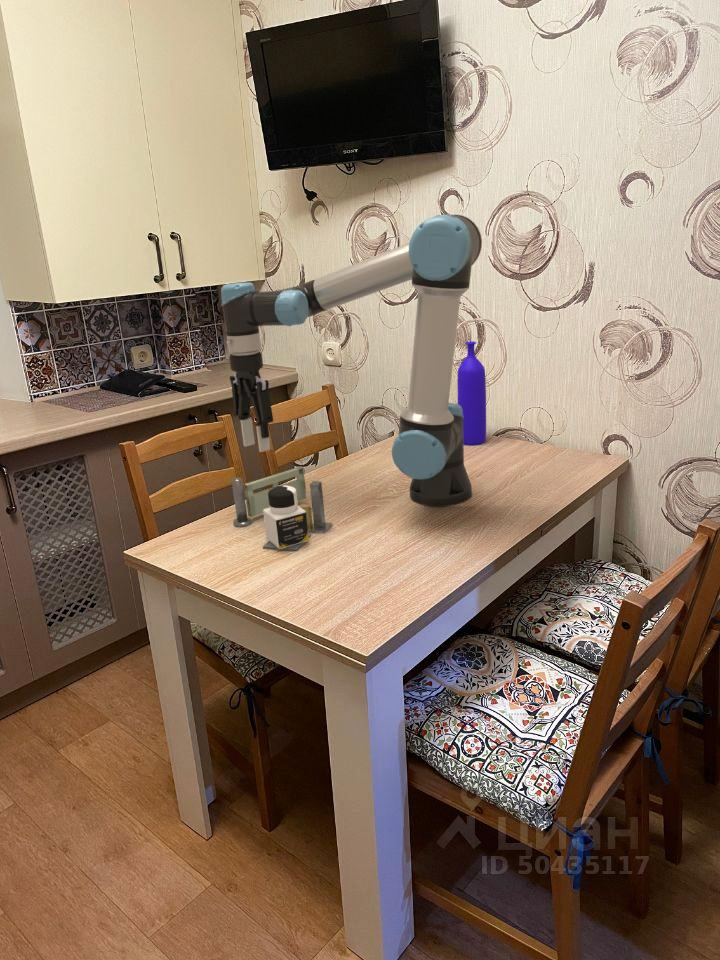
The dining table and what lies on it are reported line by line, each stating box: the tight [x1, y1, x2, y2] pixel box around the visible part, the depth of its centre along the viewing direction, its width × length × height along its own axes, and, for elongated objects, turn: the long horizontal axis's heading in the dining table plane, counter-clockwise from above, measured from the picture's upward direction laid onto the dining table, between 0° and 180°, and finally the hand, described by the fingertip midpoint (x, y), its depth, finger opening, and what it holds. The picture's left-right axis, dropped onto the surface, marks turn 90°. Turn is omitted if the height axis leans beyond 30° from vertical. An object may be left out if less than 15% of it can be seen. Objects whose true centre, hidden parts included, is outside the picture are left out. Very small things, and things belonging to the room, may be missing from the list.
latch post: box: [298, 480, 333, 534], centre depth 158 cm, size 6×4×11 cm
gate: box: [243, 466, 307, 518], centre depth 170 cm, size 16×1×8 cm, turn 129°
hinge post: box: [231, 476, 253, 528], centre depth 164 cm, size 4×4×11 cm
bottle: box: [456, 340, 487, 446], centre depth 208 cm, size 8×8×30 cm
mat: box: [262, 533, 312, 552], centre depth 154 cm, size 8×8×1 cm
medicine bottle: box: [262, 485, 310, 549], centre depth 152 cm, size 7×7×12 cm
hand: (257, 447), depth 171 cm, fingers open, 6 cm apart
